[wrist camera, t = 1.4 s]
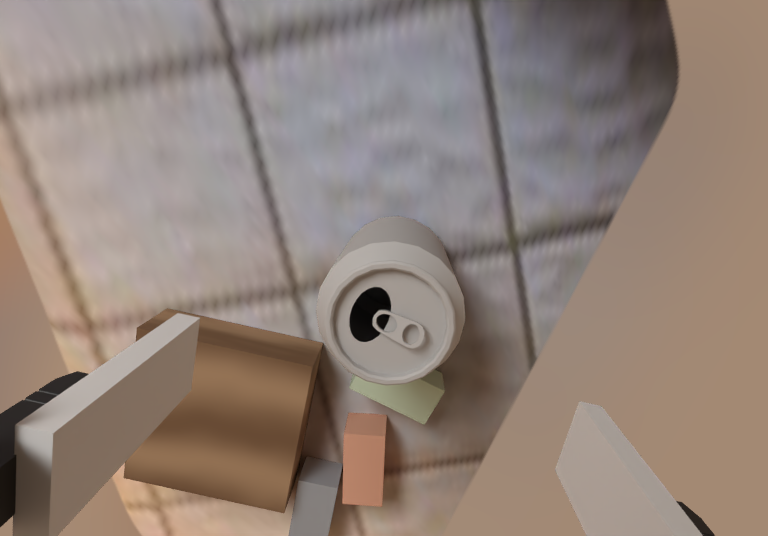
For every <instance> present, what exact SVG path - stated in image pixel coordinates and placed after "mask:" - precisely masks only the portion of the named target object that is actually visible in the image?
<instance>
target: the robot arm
mask: <svg viewBox="0 0 768 536" xmlns="http://www.w3.org/2000/svg"><path fill="white" fill-rule="evenodd" d="M199 323H200V318H198V317H194V316H189V315H185V314H180V313H177V314H176V315H174V316H173V317H171V318H170V319H168V320H167V321H166V322H164V323H163V324H161V325H160V326H158V327H157V328H155V329H154V330H152V331H151V332H150V333H148V334H147V335H145V336H144V337H142V338H141V339H139V340H138V341H136V342H135V343H133V344H132V345H131V346H129V347H128V348H126V349H125V350H123V351H122V352H120V353H119V354H117V355H116V356H115V357H113V358H112V359H110V360H109V361H107V362H106V363H104V364H103V365H101V366H100V367H99V368H97V369H96V370H94V371H93V372H91V373H90V374H87V373H82V372H78V371H77V372H74V373H71V374H68V375H65V376H62V377H60V378H57V379H55V380H53V381H51V382H50V383H48V384H47V385H45V386H44V387H42V388H40V389H39V391H38V392H34V393H33V394H31V395H29V396H28V397H26V399H25V400H22V401H20V402H19V403H17V404H15V405H14V406H12V407H11V408H9V409H8V410H6V411H4V412H3V413H1V414H0V527H1V526H2V525H3V524H4V523H5V522H7V521H8V519H10V518H11V517H12V516H13V536H58V535H59V533H60V532H61V531H62V530H63V529H64V528H65V527H66V526H67V525H68V524H69V523H70V521H71V520H72V519H73V518H74V517H75V516H76V515H77V514H78V513H79V512H80V511H81V509H82V508H83V507H84V506H85V505H86V504H87V503H88V502H89V501H90V500H91V499H92V498H93V497H94V495H95V494H96V493H97V492H98V491H99V490H100V489H101V488H102V487H103V486H104V484H105V483H106V482H107V481H108V480H109V479H110V478H111V477H112V476H113V475H114V474H115V473H116V471H117V470H118V469H119V468H120V467H121V466H122V465H123V464H124V463H125V462H126V461H127V459H128V458H129V457H130V456H131V455H132V454H133V453H134V452H135V451H136V450H137V449H138V448H139V446H140V445H141V444H142V443H143V442H144V441H145V440H146V439H147V438H148V437H149V436H150V434H151V433H152V432H153V431H154V430H155V429H156V428H157V427H158V426H159V425H160V424H161V422H162V421H163V420H164V419H165V418H166V417H167V416H168V415H169V414H170V413H171V412H172V410H173V409H174V408H175V407H176V406H177V405H178V404H179V403H180V402H181V401H182V400H183V398H184V397H185V396H186V395H187V394H188V393H189V392H190V391H191V387H192V379H193V371H194V363H195V355H196V347H197V339H198V331H199ZM555 471H556V473H557V475H558V477H559V479H560V481H561V483H562V486H563V488H564V490H565V492H566V494H567V496H568V498H569V500H570V502H571V505H572V507H573V509H574V511H575V513H576V515H577V517H578V519H579V521H580V523H581V526H582V528H583V529H584V532H585V534H586V536H714V534H713V532H712V531H711V530H710V529H709V528H708V526H707V525H706V524H705V523H704V521H703V520H702V519H701V518H700V517H699V516H698V515H696V514H695V513H694V512H693V511H692V510H690V509H689V508H688V507H687V506H686V505H684V504H683V503H682V502H678V501H675V499H674V498H673V497H672V496H671V494H670V493H669V492H668V490H667V489H666V488H665V487H664V485H663V484H662V483H661V482H660V480H659V479H658V478H657V477H656V475H655V474H654V473H653V471H652V470H651V469H650V468H649V466H648V465H647V464H646V462H645V461H644V460H643V459H642V457H641V456H640V455H639V454H638V452H637V451H636V450H635V448H634V447H633V446H632V445H631V443H630V442H629V441H628V439H627V438H626V437H625V436H624V434H623V433H622V432H621V430H620V429H619V428H618V427H617V426H616V424H615V423H614V422H613V420H612V419H611V418H610V416H609V415H608V414H607V413H606V411H605V410H604V409H603V408H602V406H598V405H594V404H590V403H585V402H581V401H580V402H579V404H578V407H577V409H576V412H575V415H574V418H573V421H572V424H571V426H570V429H569V432H568V435H567V437H566V440H565V443H564V446H563V449H562V451H561V454H560V457H559V460H558V463H557V466H556V468H555Z"/></svg>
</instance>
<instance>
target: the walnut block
mask: <svg viewBox="0 0 768 536" xmlns="http://www.w3.org/2000/svg"><path fill="white" fill-rule="evenodd" d="M177 313H180V314H185V315H189V316H194V317H198V318H200V323H199V331H198V339H197V347H196V355H195V363H194V371H193V379H192V387H191V391H190V392H189V393H188V394H187V395H186V396H185V397H184V398H183V400H182V401H181V402H180V403H179V404H178V405H177V406H176V407H175V408H174V409H173V410H172V412H171V413H170V414H169V415H168V416H167V417H166V418H165V419H164V420H163V421H162V422H161V424H160V425H159V426H158V427H157V428H156V429H155V430H154V431H153V432H152V433H151V434H150V436H149V437H148V438H147V439H146V440H145V441H144V442H143V443H142V444H141V445H140V446H139V448H138V449H137V450H136V451H135V452H134V453H133V454H132V455H131V456H130V457H129V458H128V459H127V461H126V462H125V470H124V478H126V479H131V480H135V481H140V482H145V483H149V484H154V485H158V486H163V487H167V488H172V489H176V490H181V491H186V492H190V493H195V494H199V495H204V496H208V497H213V498H217V499H222V500H227V501H231V502H236V503H240V504H245V505H249V506H254V507H258V508H263V509H268V510H272V511H277V512H281V513H284V512H285V509H286V506H287V503H288V500H289V497H290V494H291V491H292V489H293V486H294V483H295V480H296V477H297V472H298V467H299V462H300V457H301V452H302V447H303V442H304V437H305V432H306V427H307V422H308V417H309V412H310V407H311V402H312V397H313V392H314V387H315V382H316V377H317V372H318V367H319V361H320V356H321V351H322V346H323V343H321V342H316V341H312V340H307V339H303V338H298V337H294V336H289V335H285V334H280V333H276V332H271V331H267V330H262V329H258V328H253V327H249V326H244V325H240V324H235V323H231V322H226V321H222V320H217V319H213V318H208V317H204V316H199V315H195V314H190V313H186V312H181V311H177V310H172V309H168V308H167V309H166V310H164V311H163V312H161V313H160V314H158V315H156V316H155V317H153V318H152V319H150V320H149V321H147V322H145V323H144V324H142V325H141V326H139V327H138V328H137V334H136V341H138V340H139V339H141V338H142V337H144V336H145V335H147V334H148V333H150V332H151V331H152V330H154V329H155V328H157V327H158V326H160V325H161V324H163V323H164V322H166V321H167V320H168V319H170V318H171V317H173V316H174V315H176V314H177Z"/></svg>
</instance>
